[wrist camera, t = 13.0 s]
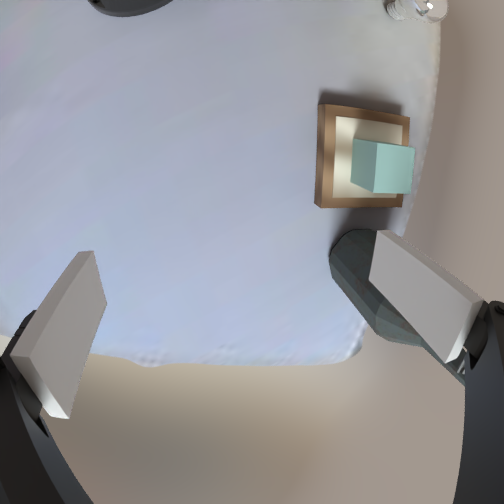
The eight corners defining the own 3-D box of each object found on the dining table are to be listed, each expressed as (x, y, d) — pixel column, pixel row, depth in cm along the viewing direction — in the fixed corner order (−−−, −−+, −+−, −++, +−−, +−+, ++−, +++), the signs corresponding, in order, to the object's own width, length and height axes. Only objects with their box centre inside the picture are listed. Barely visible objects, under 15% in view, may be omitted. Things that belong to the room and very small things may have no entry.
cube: (352, 138, 35) (377, 142, 30) (388, 142, 36) (415, 148, 31) (350, 182, 38) (373, 192, 32) (385, 183, 39) (410, 193, 33)
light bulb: (414, 23, 30) (464, 11, 20) (392, 38, 32) (445, 25, 21) (388, -10, 27) (435, -30, 17) (364, 4, 29) (412, -20, 18)
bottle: (385, 226, 45) (525, 336, 18) (375, 279, 49) (484, 400, 22) (330, 228, 43) (471, 369, 16) (323, 285, 47) (424, 436, 20)
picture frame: (317, 104, 35) (325, 103, 33) (399, 116, 37) (410, 117, 35) (314, 203, 41) (321, 208, 39) (392, 202, 43) (402, 207, 41)
